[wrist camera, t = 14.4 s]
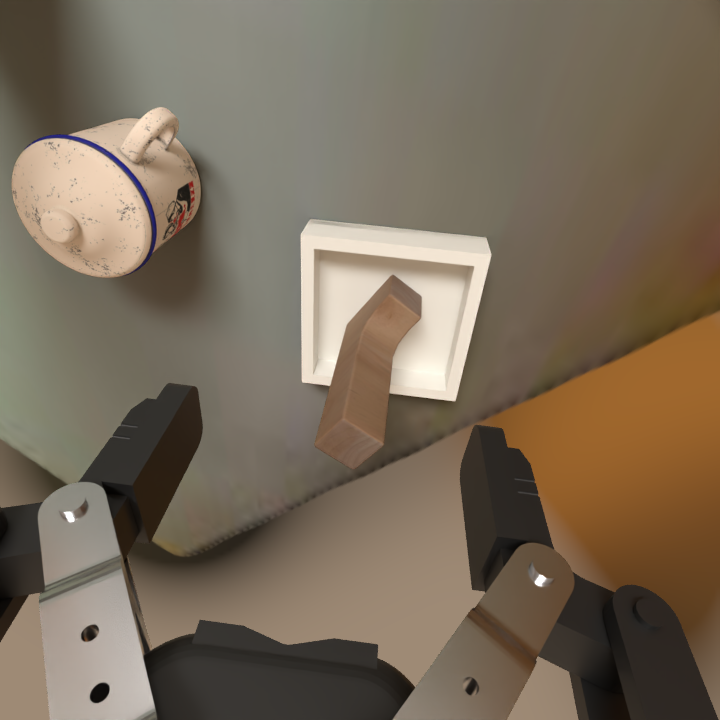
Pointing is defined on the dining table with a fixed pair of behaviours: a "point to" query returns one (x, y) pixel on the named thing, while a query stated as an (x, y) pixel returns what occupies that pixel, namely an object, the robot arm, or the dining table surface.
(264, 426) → the dining table surface
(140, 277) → the dining table surface
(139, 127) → the teacup with lid
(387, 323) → the wooden block
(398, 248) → the tray
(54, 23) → the dining table surface
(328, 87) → the dining table surface
